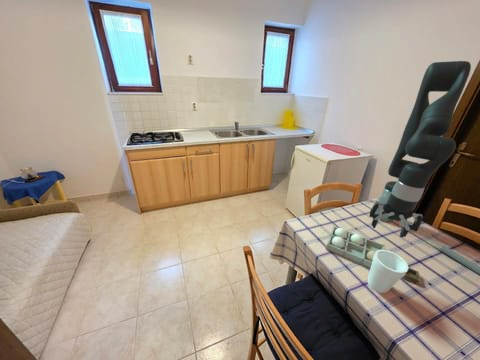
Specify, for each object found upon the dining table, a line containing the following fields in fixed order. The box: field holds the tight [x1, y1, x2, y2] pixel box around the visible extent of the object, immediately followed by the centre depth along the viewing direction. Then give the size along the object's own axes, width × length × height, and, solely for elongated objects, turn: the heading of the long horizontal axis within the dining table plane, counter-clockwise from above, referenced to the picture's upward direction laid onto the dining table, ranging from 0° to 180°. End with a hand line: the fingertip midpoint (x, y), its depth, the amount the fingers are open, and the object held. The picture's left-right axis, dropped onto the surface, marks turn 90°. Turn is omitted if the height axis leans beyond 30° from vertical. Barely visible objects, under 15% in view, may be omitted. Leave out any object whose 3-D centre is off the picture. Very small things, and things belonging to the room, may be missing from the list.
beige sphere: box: [367, 251, 376, 262], centre depth 80 cm, size 5×5×5 cm
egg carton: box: [325, 226, 386, 269], centre depth 86 cm, size 14×21×3 cm
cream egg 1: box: [335, 227, 347, 239], centre depth 91 cm, size 5×5×5 cm
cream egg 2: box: [332, 237, 344, 248], centre depth 86 cm, size 5×5×5 cm
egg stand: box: [401, 267, 421, 285], centre depth 75 cm, size 5×5×2 cm
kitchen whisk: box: [399, 220, 480, 276], centre depth 87 cm, size 6×34×6 cm, turn 28°
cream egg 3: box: [351, 233, 364, 245], centre depth 88 cm, size 5×5×5 cm
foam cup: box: [367, 249, 410, 294], centre depth 69 cm, size 10×9×13 cm
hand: (386, 231), depth 73 cm, fingers open, 8 cm apart
